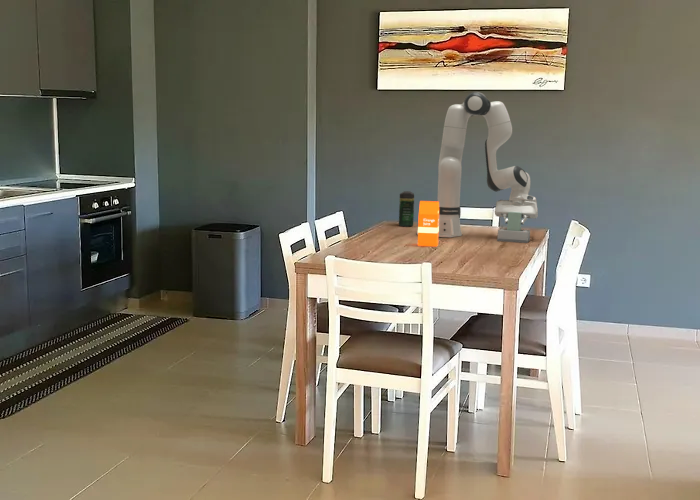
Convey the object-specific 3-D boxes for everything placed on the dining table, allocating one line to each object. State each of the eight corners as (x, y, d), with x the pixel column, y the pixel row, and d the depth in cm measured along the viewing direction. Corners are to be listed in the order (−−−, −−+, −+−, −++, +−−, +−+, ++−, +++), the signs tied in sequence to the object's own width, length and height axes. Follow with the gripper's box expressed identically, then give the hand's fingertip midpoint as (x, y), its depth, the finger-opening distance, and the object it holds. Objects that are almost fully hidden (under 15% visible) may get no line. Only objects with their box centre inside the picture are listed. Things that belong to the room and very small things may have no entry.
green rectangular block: (508, 234, 371) (509, 211, 369) (520, 235, 369) (521, 212, 367) (506, 235, 367) (507, 212, 366) (519, 236, 365) (520, 213, 363)
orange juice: (436, 246, 348) (438, 202, 345) (417, 245, 350) (418, 201, 347) (438, 243, 356) (439, 200, 352) (419, 242, 358) (420, 200, 354)
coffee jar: (413, 227, 410) (414, 192, 407) (398, 226, 411) (399, 191, 408) (413, 224, 419) (414, 190, 416) (399, 224, 420) (399, 190, 417)
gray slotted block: (497, 241, 366) (497, 230, 365) (500, 238, 375) (501, 227, 374) (527, 243, 361) (527, 232, 360) (529, 240, 370) (530, 229, 369)
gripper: (496, 195, 375) (491, 217, 367) (539, 197, 368) (535, 220, 360) (497, 203, 380) (492, 226, 372) (539, 206, 372) (536, 228, 365)
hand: (514, 223), depth 366 cm, fingers closed on green rectangular block, 6 cm apart
